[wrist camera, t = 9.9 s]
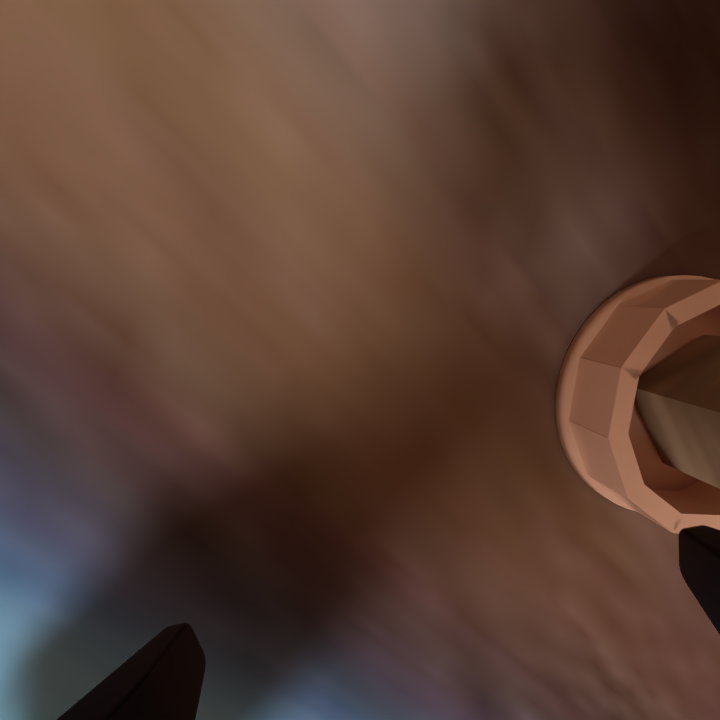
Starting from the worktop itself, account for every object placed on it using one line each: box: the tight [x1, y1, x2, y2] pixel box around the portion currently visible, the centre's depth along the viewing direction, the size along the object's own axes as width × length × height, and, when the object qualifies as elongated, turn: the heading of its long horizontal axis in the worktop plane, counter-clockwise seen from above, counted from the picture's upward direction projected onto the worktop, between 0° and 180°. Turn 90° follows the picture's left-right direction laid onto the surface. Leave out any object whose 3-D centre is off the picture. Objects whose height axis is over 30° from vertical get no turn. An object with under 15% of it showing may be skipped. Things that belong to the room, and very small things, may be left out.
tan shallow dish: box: [555, 275, 720, 533], centre depth 22 cm, size 10×10×3 cm
